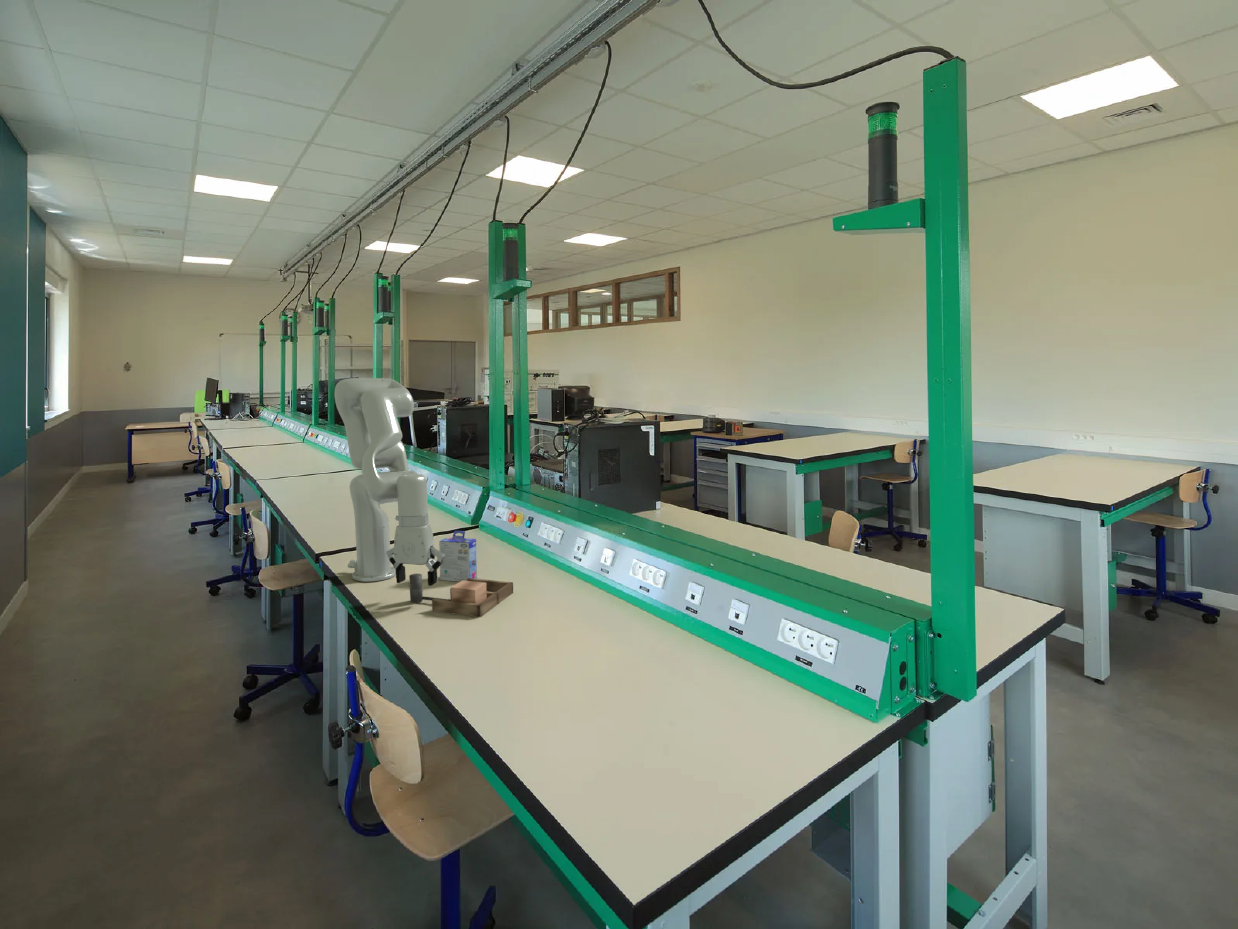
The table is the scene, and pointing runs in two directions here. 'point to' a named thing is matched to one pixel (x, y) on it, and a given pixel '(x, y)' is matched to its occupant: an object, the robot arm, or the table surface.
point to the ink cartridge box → (458, 558)
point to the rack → (494, 597)
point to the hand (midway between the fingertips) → (416, 583)
